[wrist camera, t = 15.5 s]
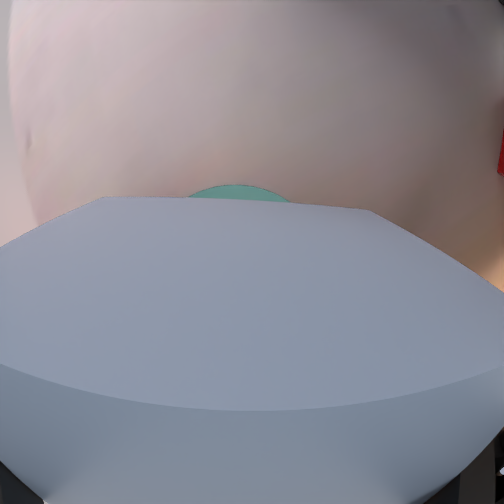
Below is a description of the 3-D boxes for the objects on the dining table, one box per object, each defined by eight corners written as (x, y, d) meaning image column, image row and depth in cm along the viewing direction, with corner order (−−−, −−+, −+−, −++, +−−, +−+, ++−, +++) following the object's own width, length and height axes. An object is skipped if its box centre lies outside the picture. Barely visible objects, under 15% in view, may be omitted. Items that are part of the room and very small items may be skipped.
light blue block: (103, 197, 10) (-94, 312, 2) (368, 210, 10) (560, 338, 2) (134, 391, 13) (93, 533, 5) (322, 398, 14) (363, 540, 6)
